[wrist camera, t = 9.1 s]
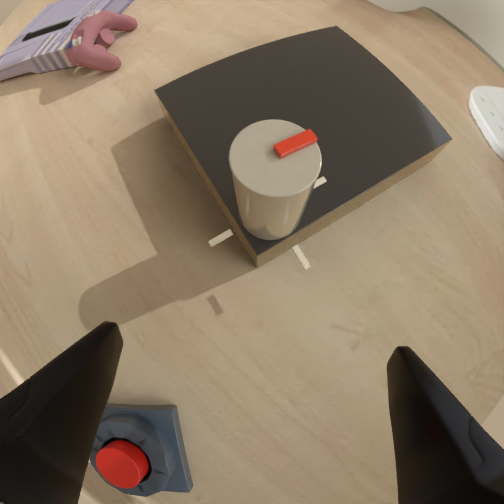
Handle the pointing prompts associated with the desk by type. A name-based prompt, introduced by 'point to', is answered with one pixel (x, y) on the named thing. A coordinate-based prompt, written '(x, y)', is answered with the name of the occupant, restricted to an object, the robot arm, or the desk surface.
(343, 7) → the desk surface
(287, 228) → the stove knob
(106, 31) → the video game controller
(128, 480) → the button
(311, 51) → the hob panel
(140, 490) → the button box
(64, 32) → the gaming console
